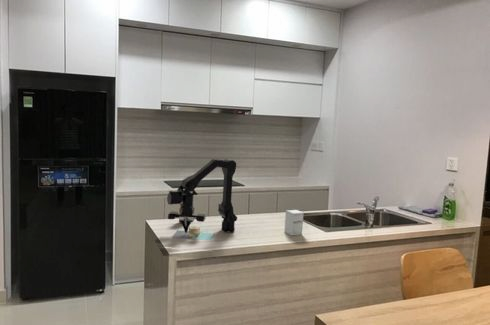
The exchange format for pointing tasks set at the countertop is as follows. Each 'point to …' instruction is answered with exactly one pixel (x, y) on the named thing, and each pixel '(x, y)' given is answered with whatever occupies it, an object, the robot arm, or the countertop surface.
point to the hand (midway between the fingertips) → (186, 232)
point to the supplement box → (293, 222)
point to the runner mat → (186, 235)
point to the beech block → (194, 231)
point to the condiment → (181, 213)
